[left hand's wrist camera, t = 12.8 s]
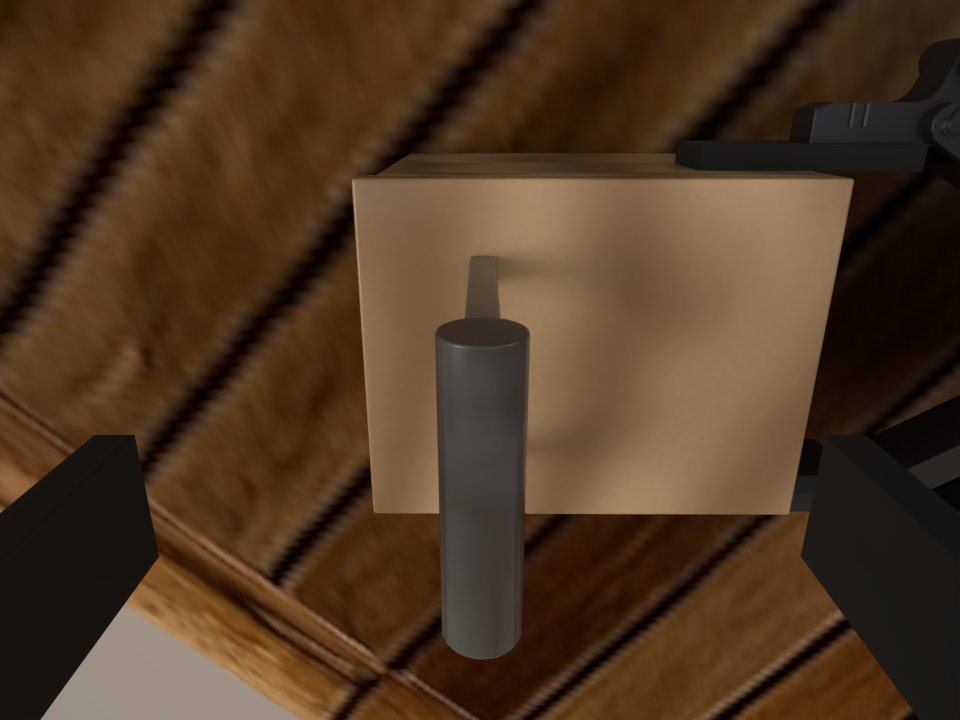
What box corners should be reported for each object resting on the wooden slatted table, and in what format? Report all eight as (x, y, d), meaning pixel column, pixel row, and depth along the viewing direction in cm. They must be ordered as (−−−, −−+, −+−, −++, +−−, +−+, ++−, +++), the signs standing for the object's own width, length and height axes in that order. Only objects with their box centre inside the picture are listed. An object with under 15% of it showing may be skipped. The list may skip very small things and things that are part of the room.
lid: (377, 497, 22) (314, 729, 14) (357, 175, 18) (254, 228, 10) (777, 499, 22) (955, 733, 13) (837, 175, 18) (1129, 229, 10)
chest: (418, 382, 31) (391, 496, 22) (410, 153, 27) (373, 174, 18) (690, 383, 31) (776, 498, 22) (718, 153, 27) (837, 175, 18)
